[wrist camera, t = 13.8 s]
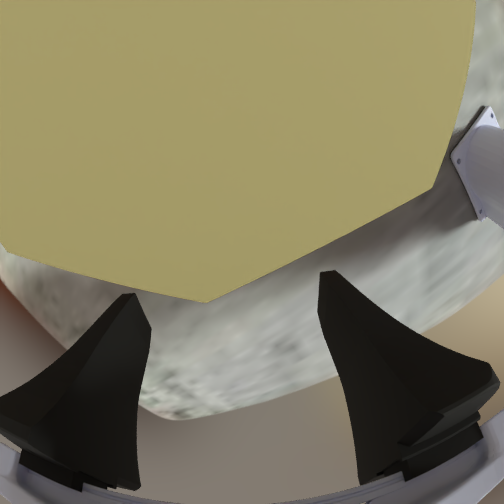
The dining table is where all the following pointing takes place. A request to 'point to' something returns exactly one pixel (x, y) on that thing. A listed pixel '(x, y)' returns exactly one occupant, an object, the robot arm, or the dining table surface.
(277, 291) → the dining table surface
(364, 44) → the jar
